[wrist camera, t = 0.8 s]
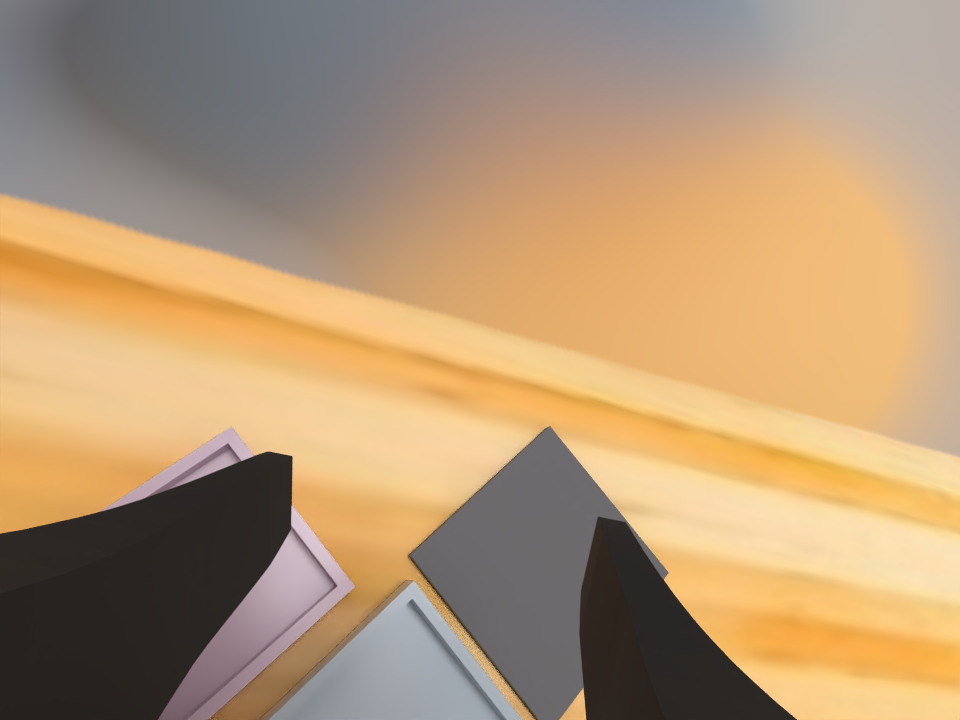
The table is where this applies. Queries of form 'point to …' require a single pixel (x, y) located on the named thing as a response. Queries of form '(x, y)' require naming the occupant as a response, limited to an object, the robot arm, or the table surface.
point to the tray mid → (397, 672)
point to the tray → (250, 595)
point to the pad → (524, 569)
